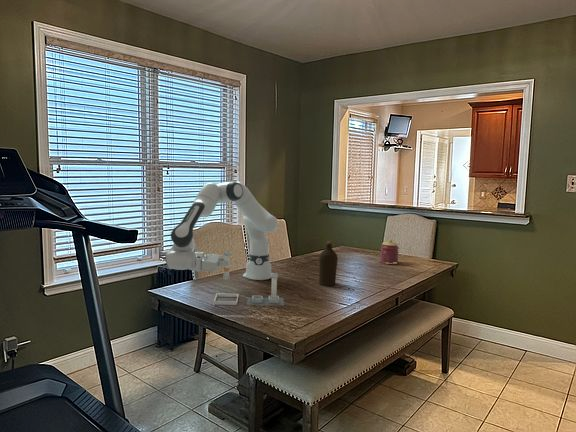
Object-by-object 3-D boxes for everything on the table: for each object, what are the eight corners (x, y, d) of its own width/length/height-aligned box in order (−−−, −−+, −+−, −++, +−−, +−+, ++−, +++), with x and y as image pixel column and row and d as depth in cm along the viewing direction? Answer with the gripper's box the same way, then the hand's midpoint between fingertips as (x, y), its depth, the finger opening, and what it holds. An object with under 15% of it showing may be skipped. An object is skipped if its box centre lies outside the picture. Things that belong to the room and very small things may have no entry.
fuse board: (247, 299, 221) (247, 293, 221) (283, 299, 223) (283, 294, 222) (246, 306, 210) (246, 300, 209) (284, 307, 211) (284, 301, 210)
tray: (216, 298, 221) (216, 293, 221) (238, 298, 222) (238, 293, 221) (213, 306, 208) (213, 301, 208) (236, 306, 209) (237, 301, 209)
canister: (386, 260, 330) (388, 237, 328) (401, 263, 320) (403, 239, 318) (376, 262, 321) (377, 238, 319) (391, 265, 311) (392, 241, 309)
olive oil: (330, 287, 248) (332, 244, 246) (314, 284, 254) (316, 241, 252) (339, 284, 257) (341, 241, 254) (323, 280, 263) (325, 239, 260)
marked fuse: (223, 278, 215) (224, 250, 213) (229, 278, 215) (230, 250, 213) (222, 279, 212) (223, 251, 210) (229, 280, 212) (230, 251, 210)
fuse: (270, 300, 218) (271, 272, 216) (276, 300, 218) (277, 272, 216) (270, 302, 215) (271, 274, 213) (276, 302, 215) (277, 274, 213)
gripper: (202, 262, 222) (229, 263, 223) (196, 272, 202) (226, 273, 203) (202, 250, 222) (230, 251, 222) (196, 259, 201) (227, 260, 202)
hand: (228, 262), depth 213 cm, fingers closed on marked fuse, 3 cm apart
